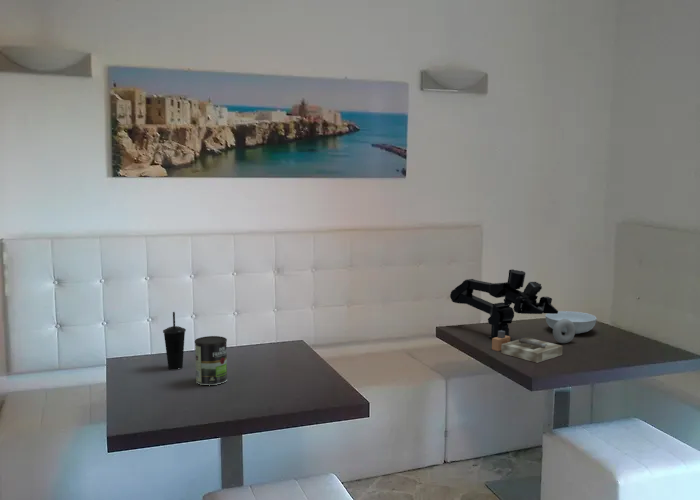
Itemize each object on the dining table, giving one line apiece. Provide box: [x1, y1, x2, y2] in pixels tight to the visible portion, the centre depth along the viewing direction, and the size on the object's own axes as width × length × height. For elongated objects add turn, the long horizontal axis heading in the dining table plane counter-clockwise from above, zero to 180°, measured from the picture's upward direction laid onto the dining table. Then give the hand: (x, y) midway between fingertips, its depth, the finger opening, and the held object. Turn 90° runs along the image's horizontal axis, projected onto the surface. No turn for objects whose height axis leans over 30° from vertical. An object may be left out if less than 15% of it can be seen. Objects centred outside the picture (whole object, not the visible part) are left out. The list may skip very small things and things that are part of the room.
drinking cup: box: [162, 311, 187, 370], centre depth 231 cm, size 8×8×20 cm
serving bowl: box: [544, 310, 597, 335], centre depth 284 cm, size 21×21×7 cm
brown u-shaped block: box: [491, 330, 511, 352], centre depth 257 cm, size 3×8×7 cm, turn 130°
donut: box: [552, 319, 576, 344], centre depth 265 cm, size 10×4×10 cm, turn 108°
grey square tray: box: [500, 336, 564, 364], centre depth 250 cm, size 16×16×5 cm
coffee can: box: [194, 335, 228, 387], centre depth 217 cm, size 10×10×14 cm
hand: (549, 312), depth 250 cm, fingers open, 9 cm apart
